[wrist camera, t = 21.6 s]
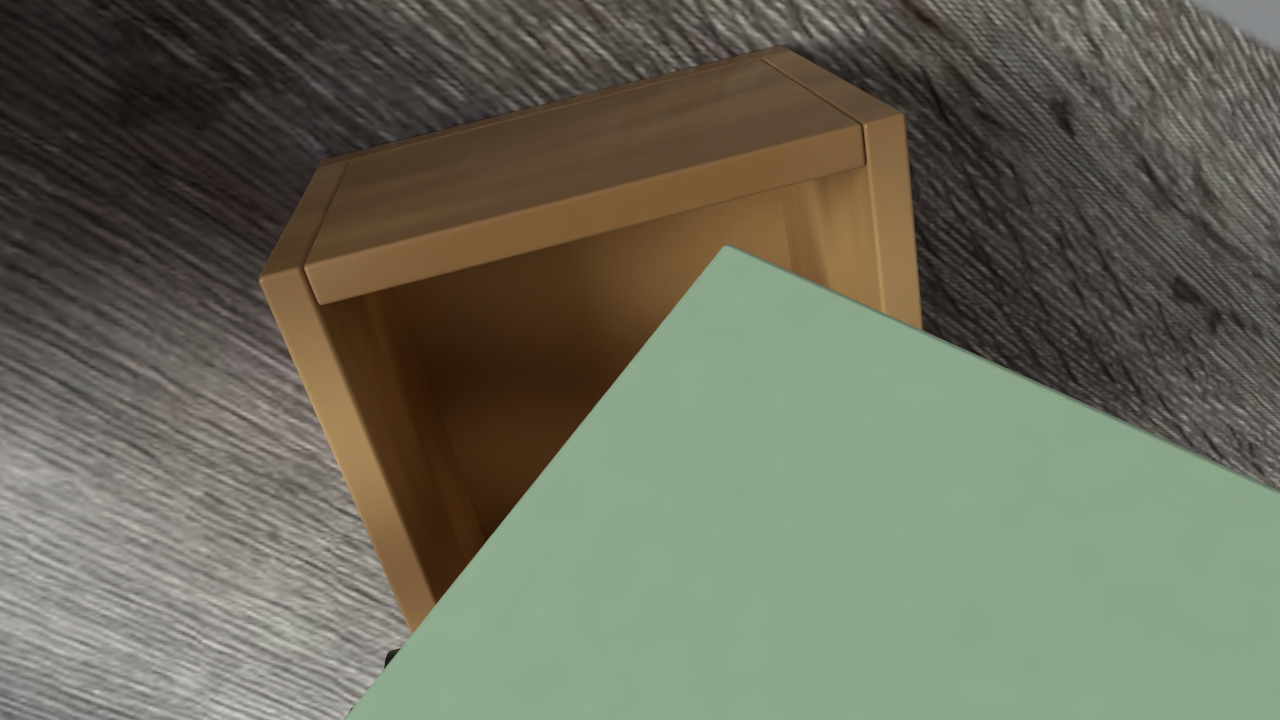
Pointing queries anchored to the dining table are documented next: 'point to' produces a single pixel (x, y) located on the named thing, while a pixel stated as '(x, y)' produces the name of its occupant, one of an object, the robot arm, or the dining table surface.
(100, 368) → the dining table surface
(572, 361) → the chest
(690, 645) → the block
